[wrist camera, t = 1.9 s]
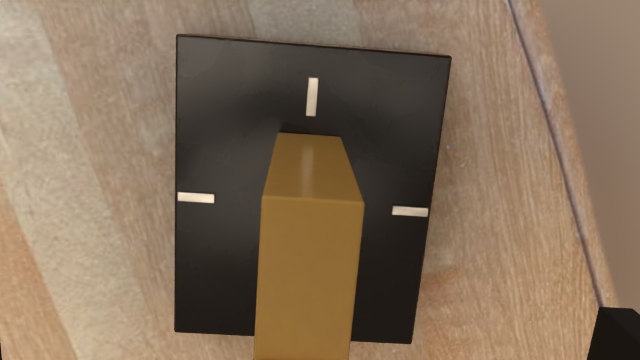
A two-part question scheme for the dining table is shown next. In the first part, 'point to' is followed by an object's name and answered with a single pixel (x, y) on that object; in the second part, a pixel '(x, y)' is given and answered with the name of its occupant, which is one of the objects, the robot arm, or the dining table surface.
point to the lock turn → (307, 251)
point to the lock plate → (255, 156)
